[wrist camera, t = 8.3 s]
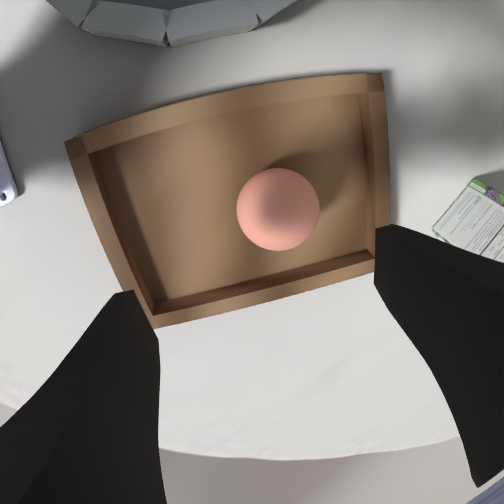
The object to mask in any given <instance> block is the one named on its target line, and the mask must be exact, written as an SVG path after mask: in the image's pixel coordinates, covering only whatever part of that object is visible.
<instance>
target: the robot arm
mask: <svg viewBox="0 0 504 504" xmlns="http://www.w3.org/2000/svg"><path fill="white" fill-rule="evenodd" d="M3 193H4V194H5V195H6V197H7V198H6V199H5V198H4V196H3ZM17 195H18V192H17V188H16V185H15V183H14V180H13V177H12V174H11V172H10V169H9V166H8V163H7V160H6V157H5V154H4V150H3V147H2V144H1V141H0V207H2V206H4V205H6V204H8V203H10V202H12V201H13V200H15V199H16V198H17ZM374 285H375V287H376V289H377V290H378V292H379V294H380V296H381V298H382V300H383V301H384V303H385V305H386V307H387V308H388V310H389V311H390V313H391V314H392V315H393V317H394V318H395V320H396V321H397V322H398V324H399V325H400V326H401V328H402V329H403V330H404V332H405V333H406V335H407V336H408V337H409V339H410V340H411V341H412V343H413V344H414V346H415V347H416V348H417V350H418V351H419V353H420V354H421V355H422V357H423V358H424V360H425V361H426V363H427V364H428V366H429V368H430V369H431V371H432V373H433V375H434V377H435V379H436V381H437V383H438V385H439V387H440V388H441V390H442V392H443V395H444V397H445V399H446V401H447V403H448V406H449V408H450V410H451V413H452V415H453V417H454V420H455V423H456V425H457V428H458V431H459V434H460V436H461V439H462V442H463V445H464V449H465V452H466V456H467V459H468V463H469V467H470V472H471V477H472V479H473V481H474V483H475V485H476V486H477V487H478V488H479V487H480V486H482V485H483V484H485V483H486V482H487V481H489V480H490V479H492V478H493V477H494V476H496V475H497V474H498V473H500V472H501V471H502V470H504V263H503V262H500V261H496V260H493V259H490V258H487V257H484V256H481V255H478V254H475V253H473V252H470V251H467V250H464V249H461V248H459V247H456V246H453V245H451V244H448V243H446V242H443V241H440V240H438V239H435V238H433V237H430V236H427V235H425V234H422V233H419V232H417V231H414V230H411V229H408V228H405V227H402V226H398V225H394V224H391V225H387V226H383V227H379V228H375V266H374ZM159 391H160V355H159V342H158V338H157V336H156V334H155V332H154V330H153V328H152V326H151V324H150V322H149V320H148V318H147V316H146V314H145V312H144V310H143V308H142V306H141V304H140V302H139V300H138V298H137V296H136V294H135V291H134V289H132V290H128V291H124V292H120V293H116V294H114V295H113V296H112V297H111V298H110V299H109V301H108V302H107V303H106V304H105V306H104V307H103V308H102V309H101V311H100V312H99V313H98V315H97V316H96V317H95V319H94V320H93V321H92V323H91V324H90V325H89V327H88V328H87V330H86V331H85V332H84V334H83V335H82V336H81V338H80V339H79V340H78V342H77V343H76V344H75V346H74V347H73V348H72V349H71V351H70V352H69V353H68V354H67V356H66V357H65V358H64V360H63V361H62V362H61V363H60V365H59V366H58V367H57V369H56V370H55V371H54V372H53V374H52V375H51V376H50V377H49V378H48V379H47V381H46V382H45V383H44V384H43V385H42V386H41V387H40V388H39V390H38V391H37V392H36V393H35V394H34V395H33V396H32V397H31V398H30V399H29V400H28V401H27V402H26V403H25V404H24V405H23V406H22V407H21V408H20V409H19V410H18V411H17V412H16V413H15V414H14V415H13V416H12V417H11V418H10V419H9V420H8V421H7V422H6V423H5V424H4V425H2V426H1V427H0V504H167V502H166V497H165V491H164V485H163V480H162V473H161V466H160V457H159V448H158V416H159ZM466 504H504V477H503V478H501V479H500V480H499V481H498V482H496V483H495V484H493V485H492V486H491V487H489V488H488V489H487V490H485V491H484V492H482V493H481V494H479V495H478V496H476V497H475V498H473V499H472V500H470V501H469V502H467V503H466Z"/></svg>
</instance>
